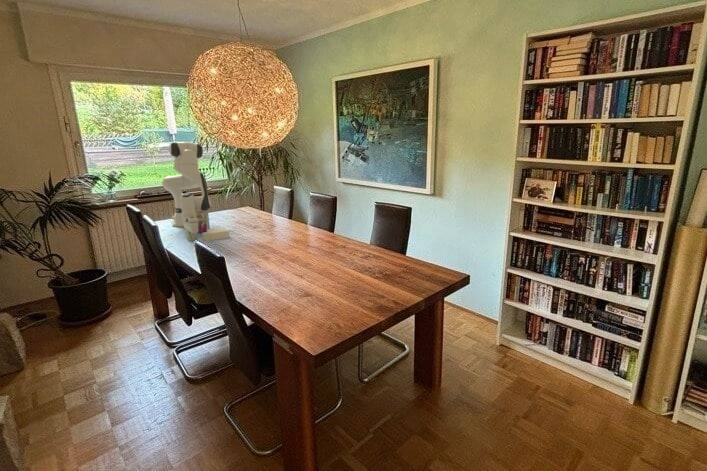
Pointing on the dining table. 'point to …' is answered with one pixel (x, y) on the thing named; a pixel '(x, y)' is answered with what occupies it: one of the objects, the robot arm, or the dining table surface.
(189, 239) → the green cube
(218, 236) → the base block
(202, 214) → the candy bar box
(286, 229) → the dining table surface
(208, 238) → the beige cube
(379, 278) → the dining table surface
